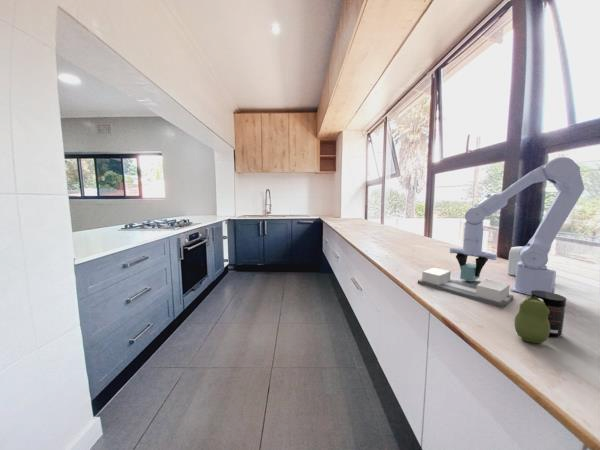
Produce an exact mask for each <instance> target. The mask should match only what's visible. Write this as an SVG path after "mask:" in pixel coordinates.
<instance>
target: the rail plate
mask: <svg viewBox="0 0 600 450" xmlns="http://www.w3.org/2000/svg"><path fill="white" fill-rule="evenodd" d="M451 272H452V271H451V270H447V269H443V268H440V267H439V268H438V267H431V268H428V269H425V270H423V271H422V273H421V274H422V276H421V278H420V279H418V280H417V283H418V284H420V285H423V286H426V287H427V286H428V287H430V288H434V289H437V290H440V291H444V292H448V293H450V294H454V295H458V296H460V297H465V298H468V299H472V300H475V301H479V302H481V303H485V304H488V305H492V306H495V307H498V308H501V309H503V308H505V306H507V305H508V304H509V303H510V302H511V301H512V300H514V295H513V294H510V285H511V284H509V283H503V282H501V281H495V280H490V279H485V280H483V281H481V282H480V283H477V284H476V285H473V284H470V283H466V282H462V281H457V280H453V279H451Z"/></svg>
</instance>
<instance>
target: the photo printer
mask: <svg viewBox="0 0 600 450" xmlns="http://www.w3.org/2000/svg"><path fill="white" fill-rule="evenodd" d="M522 247H524V246H519V245H518V246H512V247H511V248H510V250H509V253H508V264H507V275H508V276H514V277H516V269H517V263H518V262H520V261H521V257H520V256H519V251H520V249H521V248H522Z"/></svg>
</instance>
